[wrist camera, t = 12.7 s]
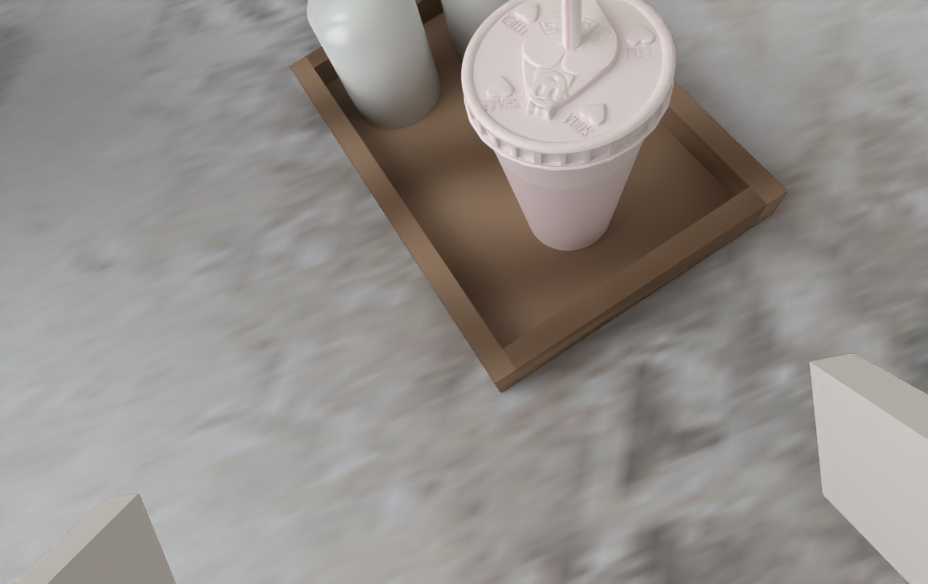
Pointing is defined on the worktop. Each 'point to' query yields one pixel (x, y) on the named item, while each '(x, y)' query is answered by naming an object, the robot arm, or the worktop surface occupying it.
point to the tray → (505, 226)
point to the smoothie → (568, 105)
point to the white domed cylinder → (467, 19)
